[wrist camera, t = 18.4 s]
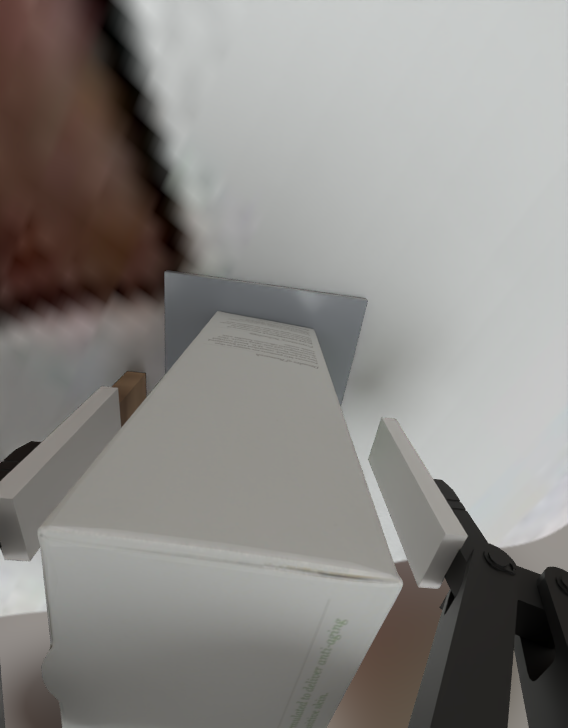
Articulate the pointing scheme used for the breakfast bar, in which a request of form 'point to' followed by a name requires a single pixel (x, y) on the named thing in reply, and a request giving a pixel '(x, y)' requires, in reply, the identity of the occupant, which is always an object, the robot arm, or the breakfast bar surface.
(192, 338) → the slate coaster
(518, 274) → the breakfast bar surface
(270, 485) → the skincare box
